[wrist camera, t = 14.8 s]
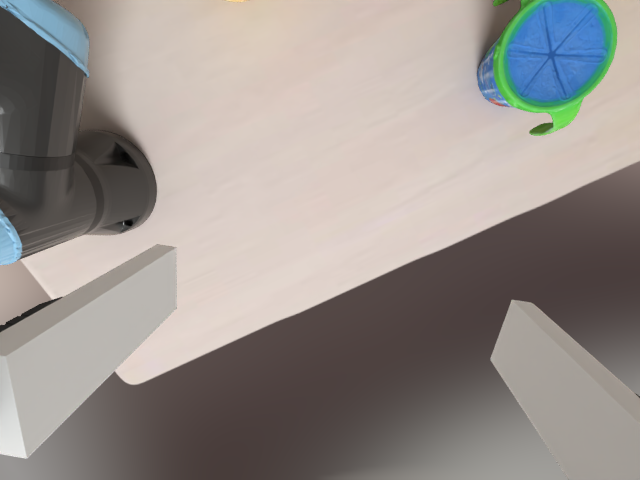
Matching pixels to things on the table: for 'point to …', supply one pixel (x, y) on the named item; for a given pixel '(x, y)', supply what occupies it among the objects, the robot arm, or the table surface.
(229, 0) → the sculpture
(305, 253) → the table surface
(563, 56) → the snack cup
